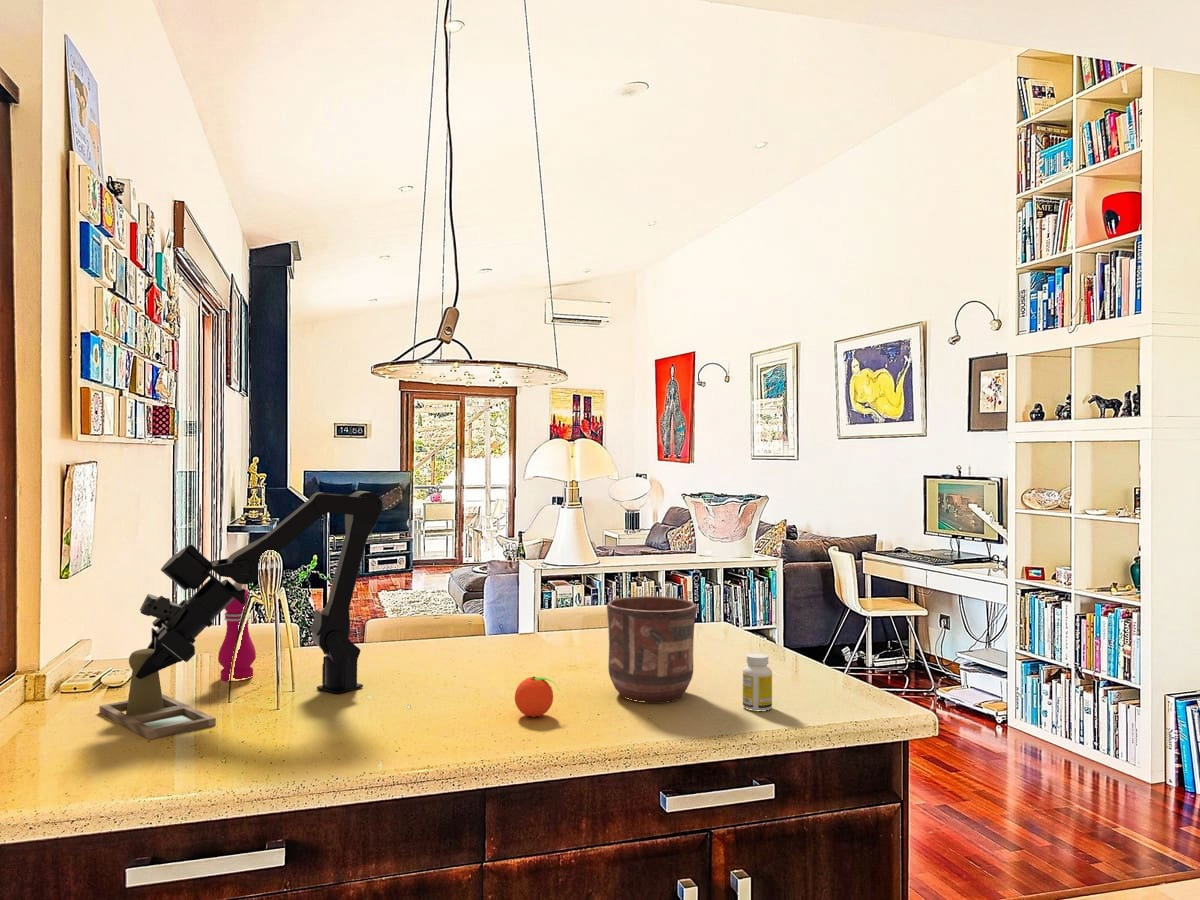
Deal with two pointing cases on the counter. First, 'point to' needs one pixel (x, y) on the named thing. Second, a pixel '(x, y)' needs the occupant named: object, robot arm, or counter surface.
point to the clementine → (534, 696)
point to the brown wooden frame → (159, 718)
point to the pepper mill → (246, 650)
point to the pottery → (651, 647)
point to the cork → (143, 686)
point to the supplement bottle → (757, 683)
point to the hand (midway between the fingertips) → (136, 674)
